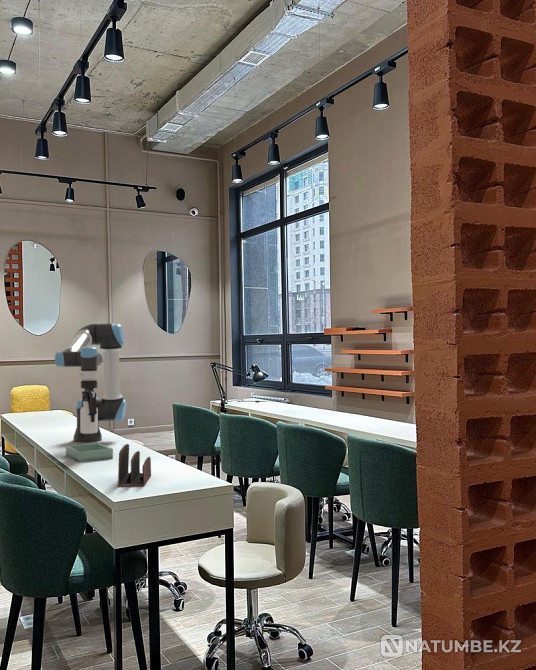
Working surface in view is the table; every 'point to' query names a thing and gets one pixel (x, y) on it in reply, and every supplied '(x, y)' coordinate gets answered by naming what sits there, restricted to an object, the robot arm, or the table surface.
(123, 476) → the letter holder
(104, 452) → the box
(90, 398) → the robot arm
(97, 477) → the table surface
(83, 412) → the pill bottle
